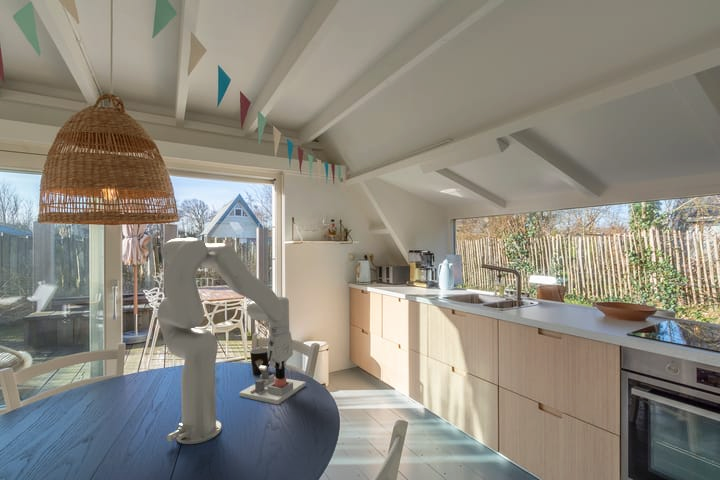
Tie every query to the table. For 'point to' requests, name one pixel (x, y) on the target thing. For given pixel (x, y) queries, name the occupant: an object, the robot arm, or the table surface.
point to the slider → (259, 385)
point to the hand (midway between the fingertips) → (280, 377)
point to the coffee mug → (259, 359)
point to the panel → (273, 390)
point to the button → (280, 382)
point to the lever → (264, 371)
